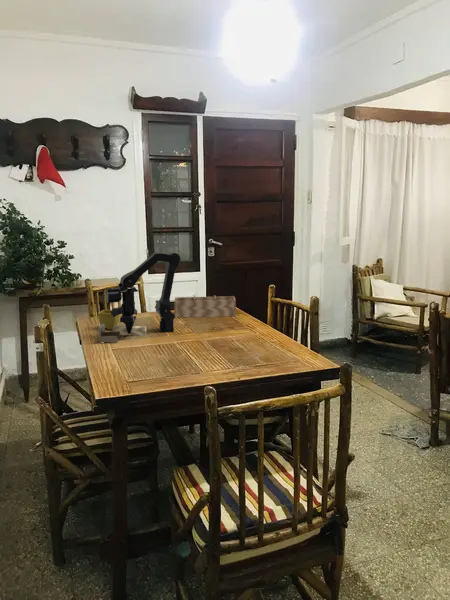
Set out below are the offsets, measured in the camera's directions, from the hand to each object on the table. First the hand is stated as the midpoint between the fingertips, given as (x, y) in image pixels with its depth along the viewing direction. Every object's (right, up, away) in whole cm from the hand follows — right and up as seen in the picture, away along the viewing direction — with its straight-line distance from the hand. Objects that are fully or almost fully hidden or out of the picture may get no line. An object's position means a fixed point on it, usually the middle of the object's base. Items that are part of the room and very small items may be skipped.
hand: (129, 332), depth 240 cm
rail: (0, -1, 0) cm, 1 cm away
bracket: (-7, -3, -10) cm, 13 cm away
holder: (+35, +7, +45) cm, 57 cm away
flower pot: (-13, +1, +13) cm, 18 cm away
